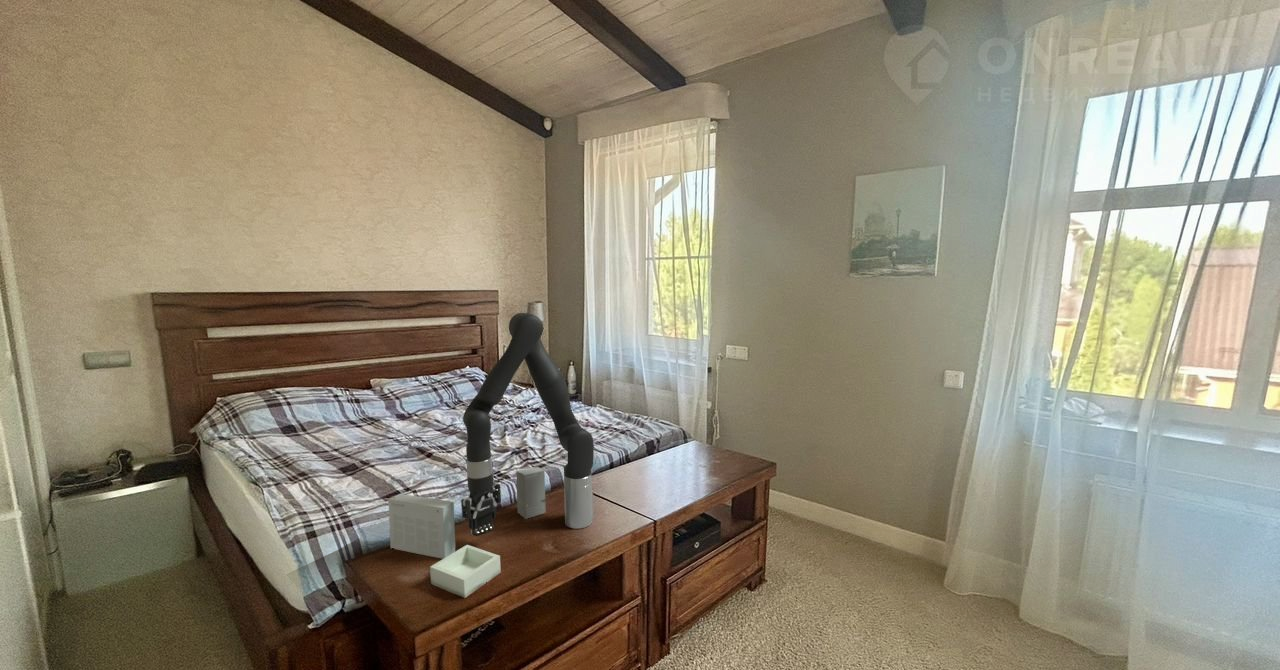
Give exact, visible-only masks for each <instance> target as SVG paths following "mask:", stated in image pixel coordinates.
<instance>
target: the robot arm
mask: <svg viewBox="0 0 1280 670" xmlns="http://www.w3.org/2000/svg"><path fill="white" fill-rule="evenodd" d="M508 330H509V334H510V336H511V339H510V341H509V344H508V346H507V348H506V350H505V351H504V353H503V355H501V357H500V358H499V360H498V361H497V362H496V363H495V365H494V366H493V367H492V368H491V369H490V371H489V372H488V374H487V376H486V377H485V379H484V380H483V383H482V385H481V387H480V388H479V391H478V392H477V394H476V395H475V396H474V398H473V399H472V401H471V402H470V403H469V404H468V406H467V407H466V409H465V411H464V413H463V417H462V422H463V424H464V426H465V427H466V428H465V429H466V437H467V442H466V446H465V447H466V448H465V449H466V450H465V451H466V453H465V454H466V474H467V475H466V481H467V489H468V491H469V495H468V497H467V498H461V499H460V506H461V516H462V518H463V519H467V520H468V527H469V529H470V530H471V529H472V530H476V529H477V520H476V515H477V512H478V511H479V510H480V507H481V505H482V502H483V501H484V498H486V497H488V498H490V497H491V498H492V499H493V504H494V512H492V519H493V520H494V519H496V517H497V506H498V504H499V503H501V501H502V494H501V492H502V491H501V484H500V483H497V482H494V470H493V461H492V460H493V459H492V451H491V434H492V433H491V431H492V429H491V428H492V426H491V425H492V424H491V417H490V416H489V415H490V413H491V412H492V410H493V408H494V406H497V405H498V404H499V403H500V402H501V400H502V398H503V396H504V395H505V392H506V391H507V389H508V387H509V386H510V383H511V382H512V379H513V378H514V377H515V375H516V373H517V371H518V370H519V368H520V366H521V365H522V363H523V362H524V360H525V363H526V367H527V369H528V371H529V374H530V377H531V378H532V381H533V384H534V386H535V388H536V391H537V392H538V395H539V397H540V399H541V401H542V403H543V405H544V407H545V409H546V411H547V413H548V414H549V416H550V418H551V420H552V422H553V425H554V428H555V430H556V434H557V437H558V440H559V442H560V446H562V448H563V450H565V451H566V452H567V463H566V464H565V465H564V467H563V484H564V485H563V487H564V491H563V493H564V494H563V495H564V525H565V526H566V527H568V528H571V529H576V530H577V529H584V528H588V527H589V526H591V525H592V524H593V519H595V517H594V492H593V490H592V489H593V488H592V487H593V486H592V485H593V484H592V470H593V469H592V468H593V466H594V456H595V454H594V452H595V451H594V450H595V448H594V447H595V446H594V445H595V444H594V438H593V436H592V433H590V431H588V430H586V429H585V428H584V427H582V425H580V424H579V422H578V420H577V418H576V416H575V415H574V412H573V410H572V406H571V399H570V393H569V392H570V391H569V388H568V386H567V383H566V381H565V379H564V376H563V373H562V372H561V370H560V369H559V367H558V366H557V364H556V363H555V361H554V360H553V359H552V357H551V356H550V354H549V353H548V352H547V350H546V348H545V345H544V343H543V342H542V336H543V334H544V333H543V332H544V324H543V321H542V320H541V319H540V317H538V316H537V315H535V314H531V313H527V312H520V313H516V314H514V315H513V316H512V317H511V318H510V320H509V323H508ZM472 503H475V504H477V507H476V508H474V507H472V506H471V504H472ZM472 510H474V512H473V514H472Z"/></svg>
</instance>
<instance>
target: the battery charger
mask: <svg viewBox="0 0 1280 670" xmlns="http://www.w3.org/2000/svg"><path fill="white" fill-rule="evenodd" d="M471 506H472V507H474V508H476V507H477V504H475V503H472V504H471ZM473 512H474V510H472V514H473ZM492 512H494V504H493V499H492V498H491V497H490V498H488V497H486V498H484V501H483V502H482V505H481V507H480V510H479V511H478V512H477V515H476V520H477V529H476V530H472V529H470V533H471V536H474V537H478V536H482V535H484V534H487V533H490V532H492V531H493V530H494V519H492Z"/></svg>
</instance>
